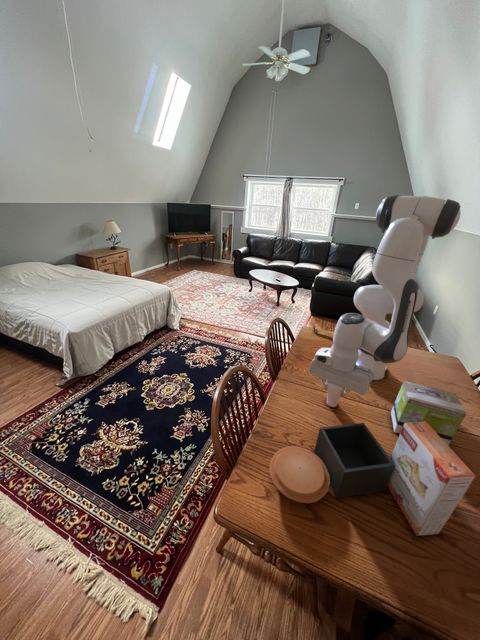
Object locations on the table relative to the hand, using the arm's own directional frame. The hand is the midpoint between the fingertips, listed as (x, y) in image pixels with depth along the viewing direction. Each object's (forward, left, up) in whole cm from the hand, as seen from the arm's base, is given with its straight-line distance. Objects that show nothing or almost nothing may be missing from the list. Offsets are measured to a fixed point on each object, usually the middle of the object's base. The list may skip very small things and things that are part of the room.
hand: (334, 392), depth 96 cm
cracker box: (+36, +2, -6) cm, 36 cm away
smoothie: (0, 0, -5) cm, 5 cm away
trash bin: (+25, -8, -5) cm, 27 cm away
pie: (+26, -23, -6) cm, 35 cm away
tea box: (+15, +23, -6) cm, 28 cm away
